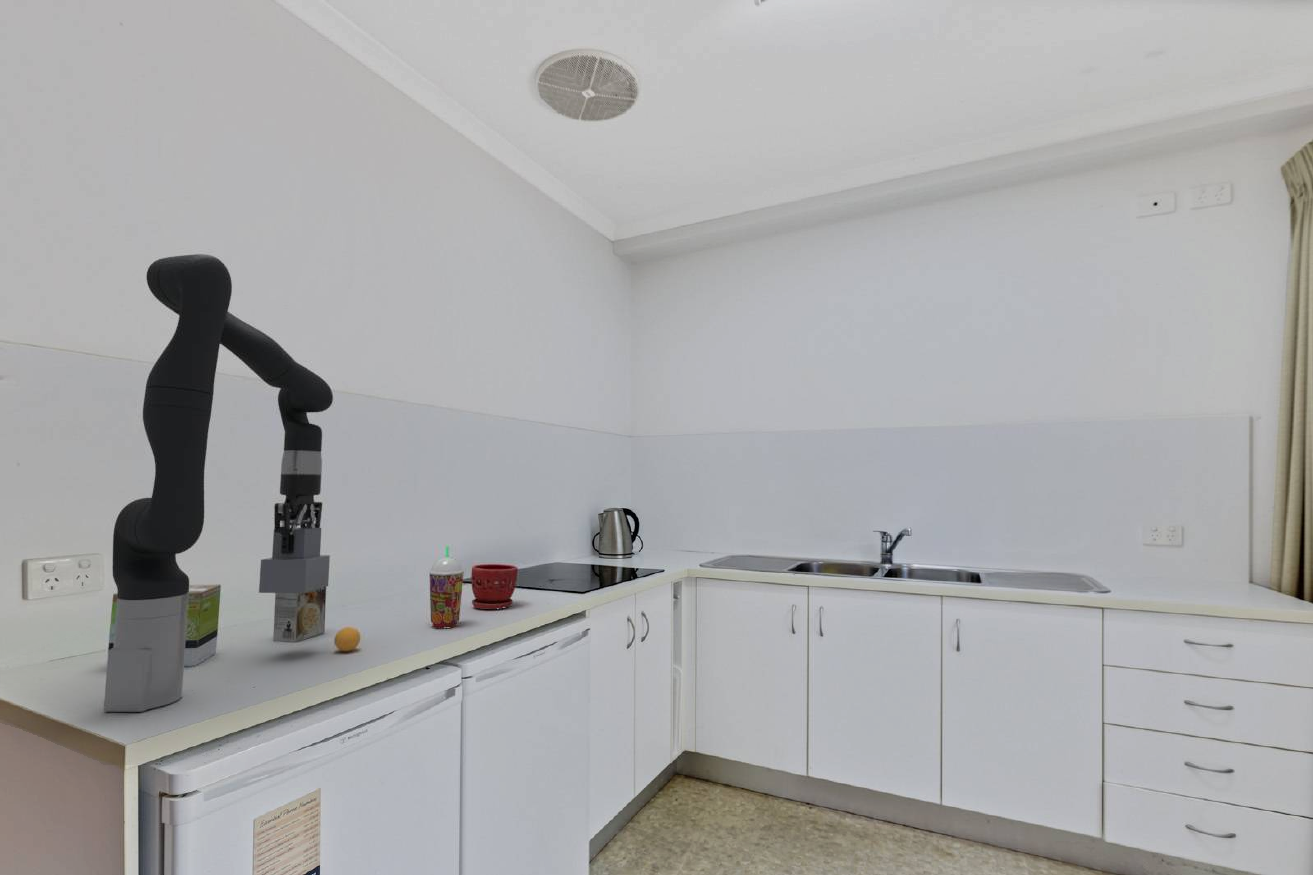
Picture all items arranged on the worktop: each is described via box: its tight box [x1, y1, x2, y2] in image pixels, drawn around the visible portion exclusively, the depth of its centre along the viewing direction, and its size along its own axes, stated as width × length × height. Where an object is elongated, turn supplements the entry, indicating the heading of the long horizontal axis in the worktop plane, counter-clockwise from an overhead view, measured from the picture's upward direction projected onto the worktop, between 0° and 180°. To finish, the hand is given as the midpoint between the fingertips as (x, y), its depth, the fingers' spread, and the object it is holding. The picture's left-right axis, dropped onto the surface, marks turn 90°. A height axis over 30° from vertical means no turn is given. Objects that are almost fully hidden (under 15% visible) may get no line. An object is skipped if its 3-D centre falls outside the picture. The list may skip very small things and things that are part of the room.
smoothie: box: [428, 545, 465, 629], centre depth 158 cm, size 8×8×20 cm
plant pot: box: [470, 563, 518, 610], centre depth 183 cm, size 13×13×12 cm
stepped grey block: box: [258, 527, 331, 594], centre depth 131 cm, size 9×9×13 cm
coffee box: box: [272, 587, 327, 643], centre depth 146 cm, size 9×6×16 cm
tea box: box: [107, 584, 222, 668], centre depth 125 cm, size 15×10×15 cm, turn 105°
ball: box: [334, 626, 361, 652], centre depth 134 cm, size 5×5×5 cm
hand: (297, 551), depth 131 cm, fingers closed on stepped grey block, 6 cm apart
